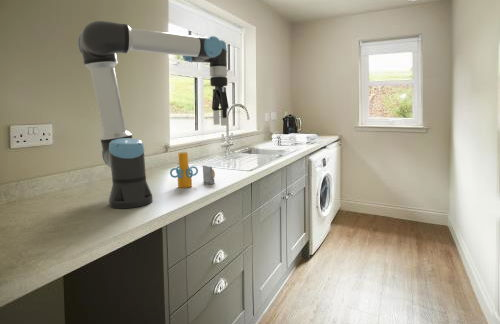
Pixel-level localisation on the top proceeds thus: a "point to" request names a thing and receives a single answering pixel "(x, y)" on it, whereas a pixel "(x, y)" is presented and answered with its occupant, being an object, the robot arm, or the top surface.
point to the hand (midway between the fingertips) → (220, 125)
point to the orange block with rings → (184, 171)
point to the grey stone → (208, 174)
